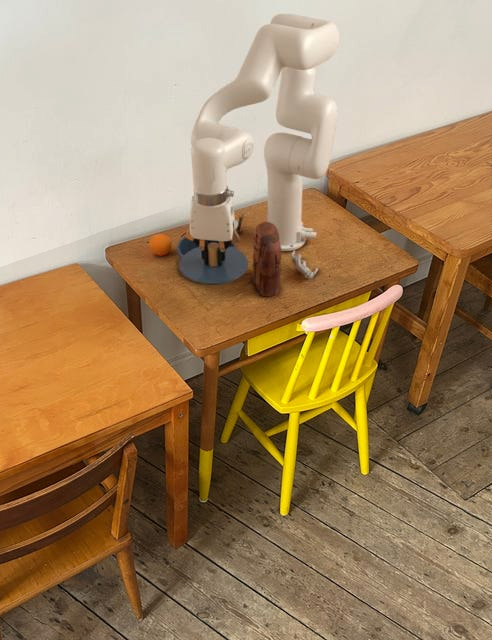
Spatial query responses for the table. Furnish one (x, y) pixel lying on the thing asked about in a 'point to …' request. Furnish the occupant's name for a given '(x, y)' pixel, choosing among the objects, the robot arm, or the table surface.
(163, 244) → the orange ball
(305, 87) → the robot arm
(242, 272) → the pan lid
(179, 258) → the dark blue round container
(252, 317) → the table surface
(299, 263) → the soldier figure
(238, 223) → the eagle figurine
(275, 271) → the wooden figurine
